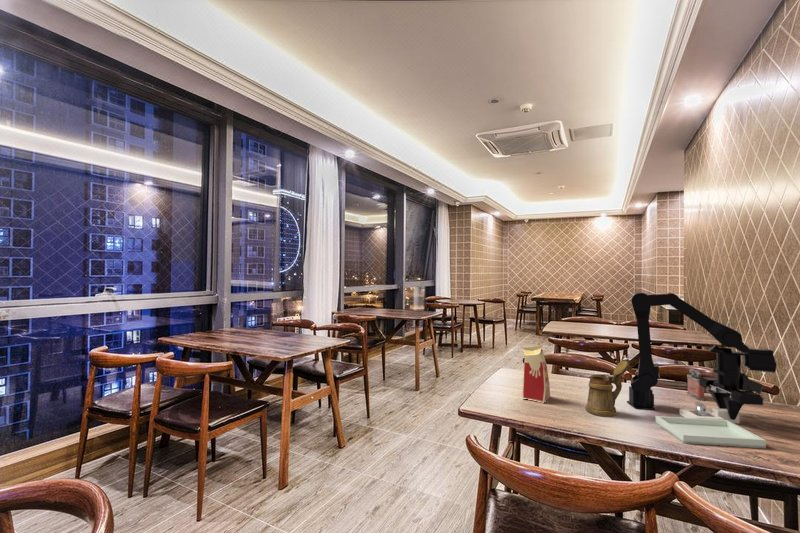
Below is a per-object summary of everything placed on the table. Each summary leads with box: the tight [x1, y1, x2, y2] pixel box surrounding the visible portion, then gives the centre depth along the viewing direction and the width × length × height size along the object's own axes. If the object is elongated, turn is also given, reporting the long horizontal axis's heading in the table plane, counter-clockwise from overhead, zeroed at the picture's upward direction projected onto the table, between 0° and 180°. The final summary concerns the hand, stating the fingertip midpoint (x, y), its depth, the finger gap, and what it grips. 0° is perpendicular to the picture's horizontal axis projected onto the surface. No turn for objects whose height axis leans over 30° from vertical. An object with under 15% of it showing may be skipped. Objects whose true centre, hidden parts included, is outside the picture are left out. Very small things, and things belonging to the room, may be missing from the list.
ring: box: [679, 407, 740, 424], centre depth 116 cm, size 14×8×4 cm, turn 82°
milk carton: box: [521, 344, 551, 404], centre depth 136 cm, size 9×9×20 cm
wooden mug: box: [585, 358, 631, 418], centre depth 122 cm, size 9×14×18 cm, turn 81°
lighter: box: [686, 368, 706, 402], centre depth 138 cm, size 8×3×10 cm, turn 168°
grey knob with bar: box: [694, 401, 707, 416], centre depth 116 cm, size 2×3×5 cm
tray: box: [655, 415, 767, 450], centre depth 105 cm, size 20×14×2 cm
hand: (729, 417), depth 115 cm, fingers open, 3 cm apart
